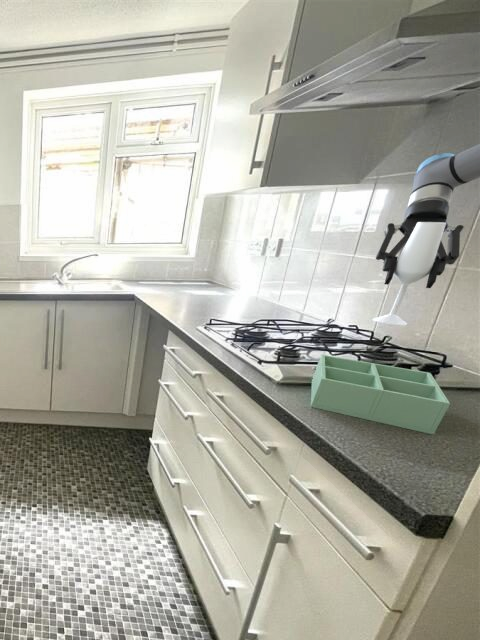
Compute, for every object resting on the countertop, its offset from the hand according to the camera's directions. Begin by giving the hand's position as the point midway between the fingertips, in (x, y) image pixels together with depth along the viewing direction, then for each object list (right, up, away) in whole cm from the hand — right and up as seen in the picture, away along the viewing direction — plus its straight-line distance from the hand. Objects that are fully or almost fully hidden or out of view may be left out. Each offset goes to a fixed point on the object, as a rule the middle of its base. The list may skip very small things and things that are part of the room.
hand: (409, 282), depth 101 cm
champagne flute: (+2, -9, +7) cm, 11 cm away
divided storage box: (-19, -29, -8) cm, 35 cm away
